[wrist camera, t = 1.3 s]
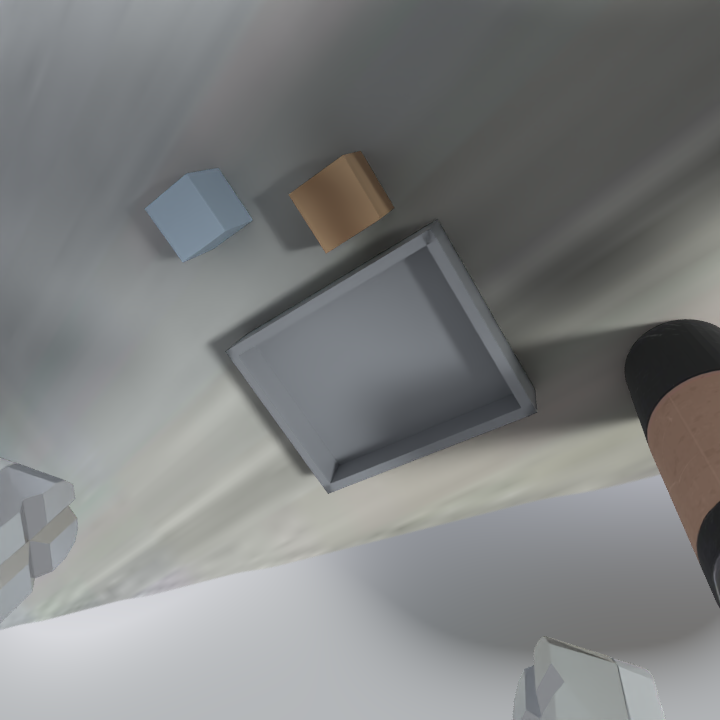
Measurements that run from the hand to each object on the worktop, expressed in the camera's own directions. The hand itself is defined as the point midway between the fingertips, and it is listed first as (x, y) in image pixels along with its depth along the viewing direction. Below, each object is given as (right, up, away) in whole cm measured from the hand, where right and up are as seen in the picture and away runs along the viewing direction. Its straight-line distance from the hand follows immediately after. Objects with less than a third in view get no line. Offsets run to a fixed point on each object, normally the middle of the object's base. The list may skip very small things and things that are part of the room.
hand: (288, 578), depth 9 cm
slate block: (-10, +15, +32) cm, 37 cm away
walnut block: (+1, +15, +29) cm, 33 cm away
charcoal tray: (+3, +4, +34) cm, 34 cm away
